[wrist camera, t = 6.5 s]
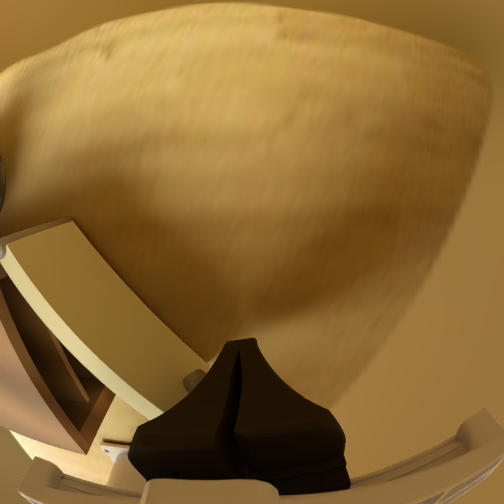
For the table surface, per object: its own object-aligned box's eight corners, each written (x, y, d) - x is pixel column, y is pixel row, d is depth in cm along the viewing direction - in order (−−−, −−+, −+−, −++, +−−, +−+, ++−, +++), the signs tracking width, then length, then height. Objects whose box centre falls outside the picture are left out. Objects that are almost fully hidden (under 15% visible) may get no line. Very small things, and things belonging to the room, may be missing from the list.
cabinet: (119, 386, 15) (86, 454, 9) (24, 377, 16) (-11, 420, 10) (59, 226, 13) (-21, 257, 7) (-26, 257, 13) (-79, 284, 7)
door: (219, 354, 15) (211, 431, 9) (197, 369, 15) (182, 444, 10) (77, 201, 12) (4, 218, 7) (60, 224, 12) (-9, 250, 7)
